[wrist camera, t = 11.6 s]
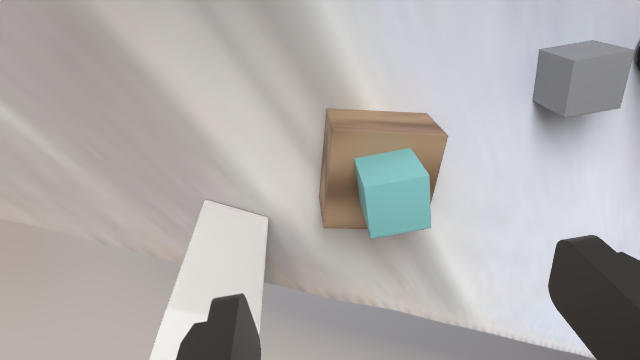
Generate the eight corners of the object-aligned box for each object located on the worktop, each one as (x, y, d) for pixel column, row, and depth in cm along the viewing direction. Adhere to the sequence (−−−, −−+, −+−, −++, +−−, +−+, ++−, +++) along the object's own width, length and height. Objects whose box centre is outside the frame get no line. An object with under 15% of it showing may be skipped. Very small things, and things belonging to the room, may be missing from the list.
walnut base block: (326, 107, 37) (333, 130, 32) (425, 112, 38) (448, 135, 33) (318, 195, 42) (323, 228, 36) (407, 197, 43) (423, 229, 37)
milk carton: (249, 263, 45) (228, 433, 29) (189, 247, 43) (129, 420, 27) (268, 216, 42) (257, 377, 26) (205, 198, 40) (148, 358, 24)
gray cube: (538, 49, 35) (574, 60, 31) (591, 40, 35) (634, 50, 31) (532, 100, 38) (564, 117, 34) (581, 92, 38) (619, 108, 33)
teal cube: (353, 158, 33) (364, 187, 29) (410, 147, 33) (429, 175, 29) (360, 205, 35) (370, 238, 31) (413, 195, 35) (430, 227, 31)
